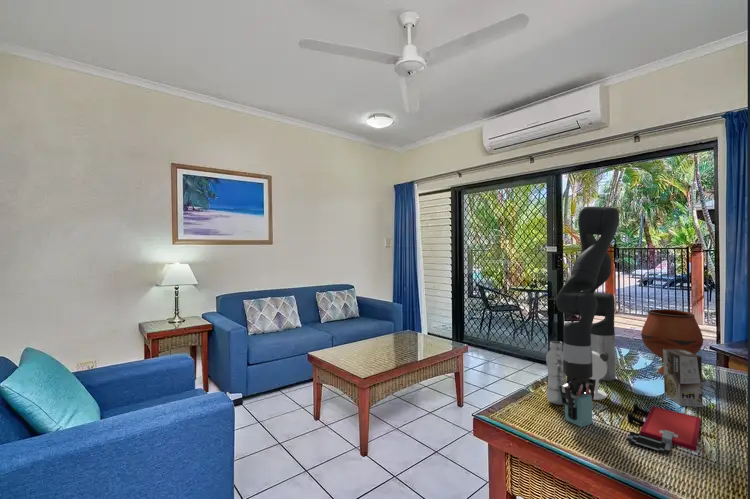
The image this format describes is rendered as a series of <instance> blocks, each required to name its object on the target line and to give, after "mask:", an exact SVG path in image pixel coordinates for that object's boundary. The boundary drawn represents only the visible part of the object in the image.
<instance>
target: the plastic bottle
mask: <svg viewBox="0 0 750 499" xmlns="http://www.w3.org/2000/svg"><path fill="white" fill-rule="evenodd" d="M549 344H550V345H549V348H550V350H549V351H548V352H547V353H546V357H545V360H546V368H547V387H546V399H547V401H548V402H549V403H550V404H554V405H558V406H565V404H562V399H561V393H560V388H559V386H560V385H565V384H566V381H567V376H566V375H565V374H564V372H563V342H562V341H556V340H552V341H550V342H549Z"/></svg>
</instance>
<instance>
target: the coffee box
mask: <svg viewBox="0 0 750 499" xmlns="http://www.w3.org/2000/svg"><path fill="white" fill-rule="evenodd" d="M662 364H663V365H664V375H663V384H664V385H663V387H664V390H663V391H664V397H667V398H668V399H669V400H671V401H673V402H675V403H676V404H678V405H679V406H681V407H694V408H703V406H704V405H703V369H702V368H703V367H702V356H700V355H699V354H697V353H696V354H694V353H691V352H689V351H686V350H683V349H663V362H662Z"/></svg>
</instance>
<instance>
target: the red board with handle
mask: <svg viewBox="0 0 750 499" xmlns="http://www.w3.org/2000/svg"><path fill="white" fill-rule="evenodd" d="M632 406H633V408H632V409H633V410H632V412H631V411H629V412H627V423H629V424H633V422H634V423H637V424H638V425H641V426H642V427H641V429H640V431H639V433H637V432H634V431H630V433H629V434H628V437H627V439H626V442H630V443H634V444H637V445H640V446H643V447H646V448H650V449H653V450H655V451H659V452H662V453H665V454H669V452H670V449H671V447H672V445H674V446H678V447H680V448H684V449H687V450H691V451H694V452H697V448H698V442H699V434H700V428H701V422H702V418H701V417H699V416H695V415H690V414H687V413H682V412H679V411H675V410H670V409H666V408H662V407H659V406H656V405H655V406H654V405H652V406H651V407H650V408H651V409H650V410H649V411H648V410H645V409H643V408H642V407H639V404H638V403H633V405H632ZM638 413H641V414H643V415H644V416H646V419H645V420H643V419H640V418H638V417H637V416H634V414H638Z"/></svg>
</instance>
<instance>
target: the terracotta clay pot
mask: <svg viewBox="0 0 750 499" xmlns="http://www.w3.org/2000/svg"><path fill="white" fill-rule="evenodd" d="M647 313H648V315H647V318H646V320H645V322H644V323H643V326H642V329H641V335H640V336H641V339H642V340H641V341H642V342H643V344H644V346H645V347H646V348H647V349H648V350H649V351H650V352H651V353H652V354H653V355H656V356H657V357H659V358H660V359H661V360H660V361H661V362H662V363H663V349H683V350H686V351H689V352H691V353H694V354H696V355H697V353H699V351H700V350H701V349H702V348H703V345H704V344H703V343H704V337H703V333H702V330H701V328H700V326H699V324H698V322H697V319H696V317H695V314H693V313H692V312H689V311H683V310H676V309H650V310H648V312H647ZM657 372H658V373H659V374H661V375H663V376H664V364H663V365H662V366H660V368H659V369H658V371H657Z"/></svg>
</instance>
